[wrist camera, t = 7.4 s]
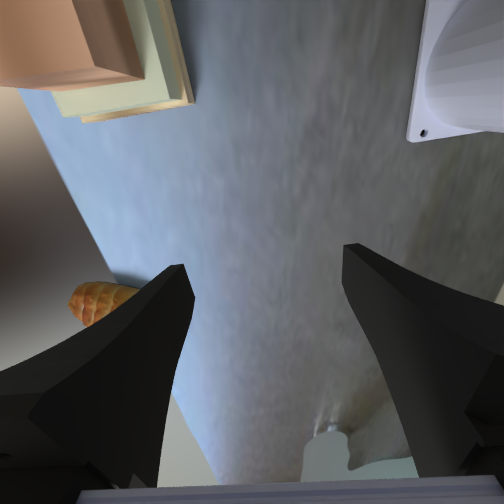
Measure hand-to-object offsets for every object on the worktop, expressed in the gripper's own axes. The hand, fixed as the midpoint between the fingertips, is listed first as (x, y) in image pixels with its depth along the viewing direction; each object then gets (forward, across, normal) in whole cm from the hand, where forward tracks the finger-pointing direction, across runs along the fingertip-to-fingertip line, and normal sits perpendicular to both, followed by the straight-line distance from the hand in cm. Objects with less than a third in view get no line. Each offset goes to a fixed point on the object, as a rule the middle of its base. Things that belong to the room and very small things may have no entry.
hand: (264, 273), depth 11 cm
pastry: (+11, +16, +10) cm, 21 cm away
